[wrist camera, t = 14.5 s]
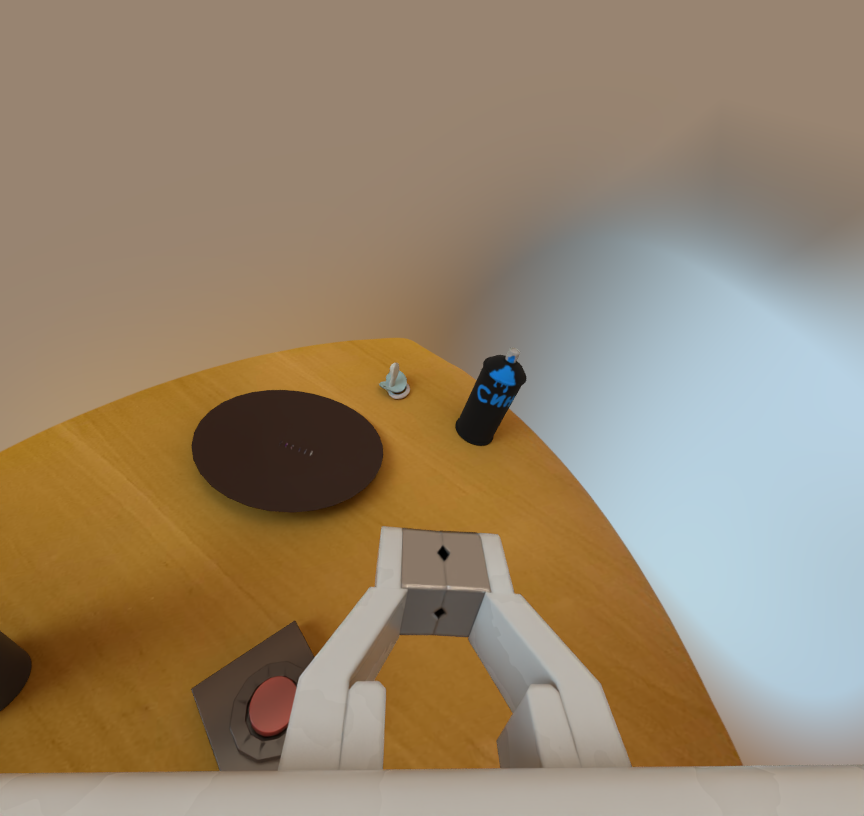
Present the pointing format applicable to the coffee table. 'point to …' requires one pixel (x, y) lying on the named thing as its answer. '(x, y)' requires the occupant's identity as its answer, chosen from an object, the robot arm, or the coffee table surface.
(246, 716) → the button block
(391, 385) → the pacifier
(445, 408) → the coffee table surface
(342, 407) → the plate
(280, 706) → the button
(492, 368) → the aerosol can
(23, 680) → the spray bottle
